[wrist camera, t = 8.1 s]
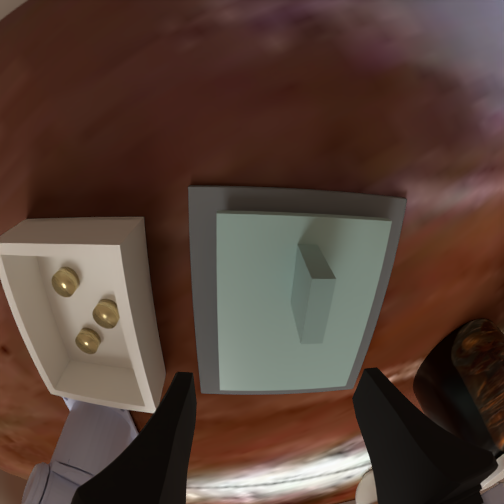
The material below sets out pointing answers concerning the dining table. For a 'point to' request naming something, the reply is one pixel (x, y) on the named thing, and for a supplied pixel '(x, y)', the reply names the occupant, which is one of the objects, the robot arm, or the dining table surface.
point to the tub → (86, 307)
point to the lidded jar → (367, 490)
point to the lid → (294, 296)
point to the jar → (467, 388)
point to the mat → (272, 200)
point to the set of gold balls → (103, 313)
